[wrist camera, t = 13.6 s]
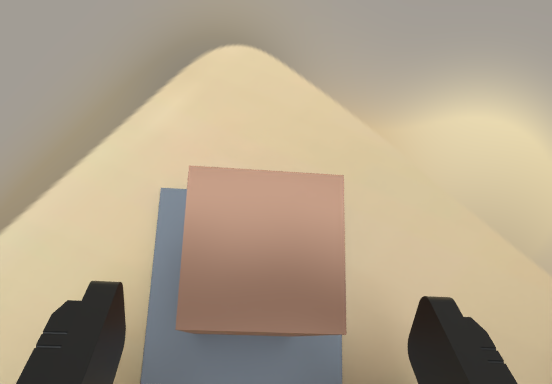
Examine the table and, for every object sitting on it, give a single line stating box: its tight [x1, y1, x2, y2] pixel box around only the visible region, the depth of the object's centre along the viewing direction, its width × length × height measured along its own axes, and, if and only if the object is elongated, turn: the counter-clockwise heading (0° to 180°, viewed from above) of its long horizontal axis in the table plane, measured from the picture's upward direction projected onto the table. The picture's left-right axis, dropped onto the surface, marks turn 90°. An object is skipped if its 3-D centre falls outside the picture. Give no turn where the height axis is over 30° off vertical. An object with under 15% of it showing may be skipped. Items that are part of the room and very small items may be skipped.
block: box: [175, 166, 346, 337], centre depth 18 cm, size 4×4×10 cm
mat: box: [141, 188, 342, 384], centre depth 23 cm, size 9×9×1 cm
